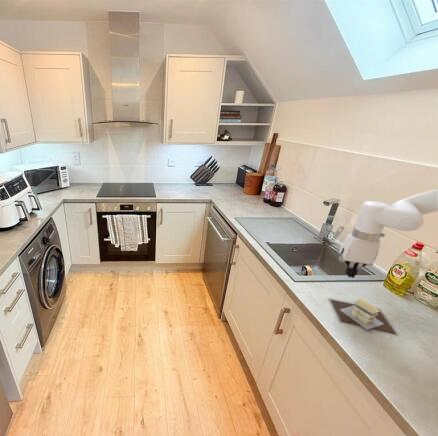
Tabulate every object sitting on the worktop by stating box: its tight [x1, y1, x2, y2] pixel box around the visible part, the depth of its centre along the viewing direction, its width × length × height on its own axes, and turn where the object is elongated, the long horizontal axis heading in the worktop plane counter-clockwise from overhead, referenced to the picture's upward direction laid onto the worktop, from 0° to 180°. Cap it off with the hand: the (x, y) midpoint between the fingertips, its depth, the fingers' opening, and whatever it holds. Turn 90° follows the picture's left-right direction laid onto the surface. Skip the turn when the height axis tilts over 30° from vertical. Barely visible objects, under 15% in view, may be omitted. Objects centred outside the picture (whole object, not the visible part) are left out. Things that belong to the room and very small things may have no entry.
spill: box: [330, 299, 396, 334], centre depth 91 cm, size 16×12×1 cm
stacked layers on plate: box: [339, 298, 383, 330], centre depth 89 cm, size 10×9×6 cm
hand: (349, 275), depth 94 cm, fingers closed
